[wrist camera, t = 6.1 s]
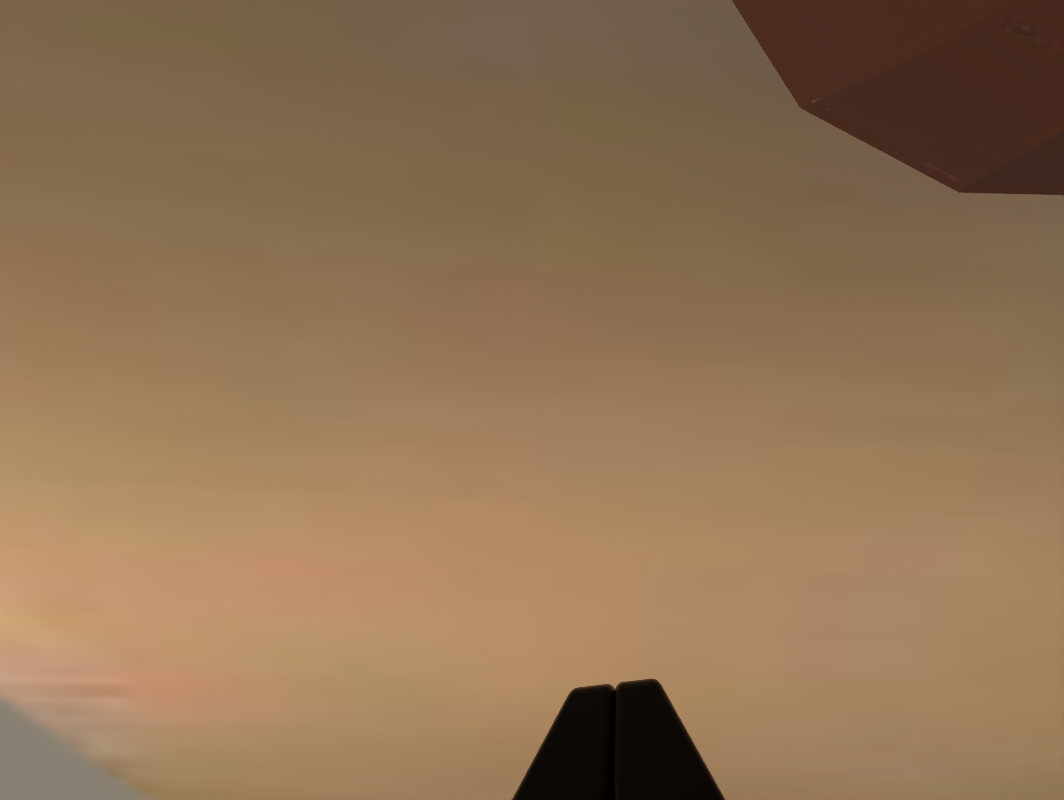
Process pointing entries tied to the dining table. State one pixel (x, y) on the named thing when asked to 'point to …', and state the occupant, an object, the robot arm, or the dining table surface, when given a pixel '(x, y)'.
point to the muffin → (931, 82)
